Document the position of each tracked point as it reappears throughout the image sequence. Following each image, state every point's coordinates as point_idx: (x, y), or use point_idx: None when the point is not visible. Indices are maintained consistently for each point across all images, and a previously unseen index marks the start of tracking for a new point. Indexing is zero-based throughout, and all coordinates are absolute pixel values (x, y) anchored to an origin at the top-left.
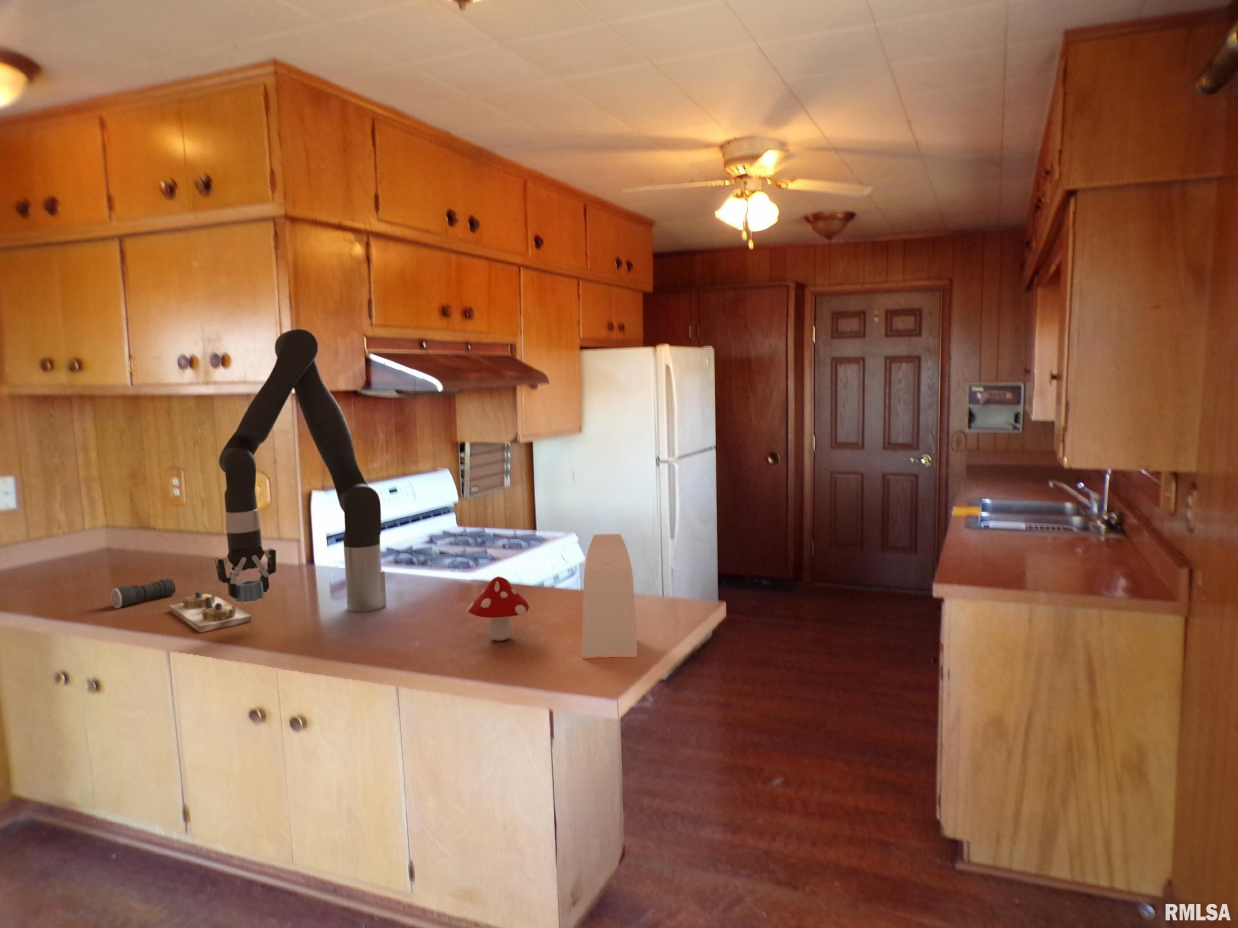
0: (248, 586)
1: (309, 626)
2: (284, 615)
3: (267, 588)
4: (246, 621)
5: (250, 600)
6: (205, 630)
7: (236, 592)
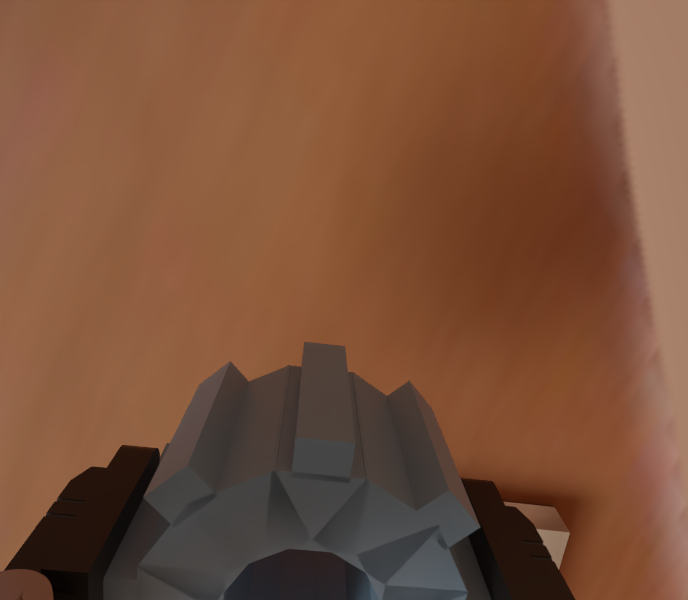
0: (376, 474)
1: (23, 21)
2: (50, 428)
3: (101, 471)
4: None
5: (355, 378)
6: (529, 506)
7: (481, 515)
